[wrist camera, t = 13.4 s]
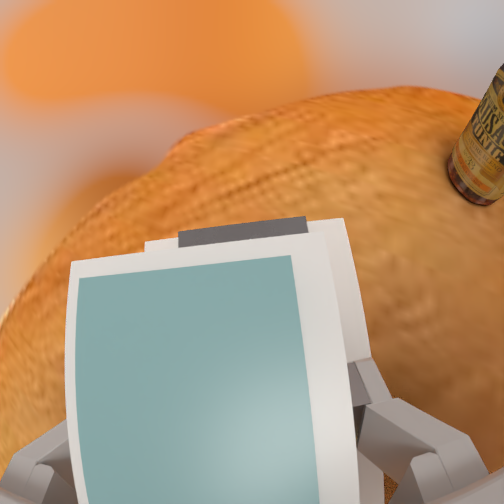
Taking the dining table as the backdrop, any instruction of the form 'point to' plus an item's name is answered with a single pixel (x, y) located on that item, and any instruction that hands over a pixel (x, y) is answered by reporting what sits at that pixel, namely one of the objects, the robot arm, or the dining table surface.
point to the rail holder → (344, 288)
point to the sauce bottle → (482, 149)
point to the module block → (210, 376)
